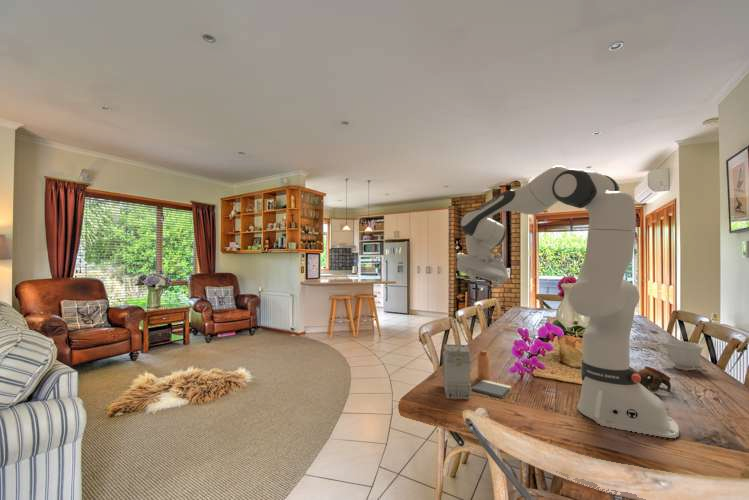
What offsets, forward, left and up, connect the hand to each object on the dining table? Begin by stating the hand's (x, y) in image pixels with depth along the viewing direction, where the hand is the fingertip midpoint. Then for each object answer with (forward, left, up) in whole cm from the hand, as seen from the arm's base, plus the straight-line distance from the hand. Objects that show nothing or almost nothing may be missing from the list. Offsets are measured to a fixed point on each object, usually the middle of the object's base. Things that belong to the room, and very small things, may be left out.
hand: (484, 283), depth 124 cm
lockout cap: (+1, 0, -35) cm, 35 cm away
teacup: (-57, -63, -35) cm, 92 cm away
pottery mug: (-48, -27, -35) cm, 65 cm away
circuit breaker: (+4, +16, -35) cm, 39 cm away
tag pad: (-5, +8, -35) cm, 37 cm away
